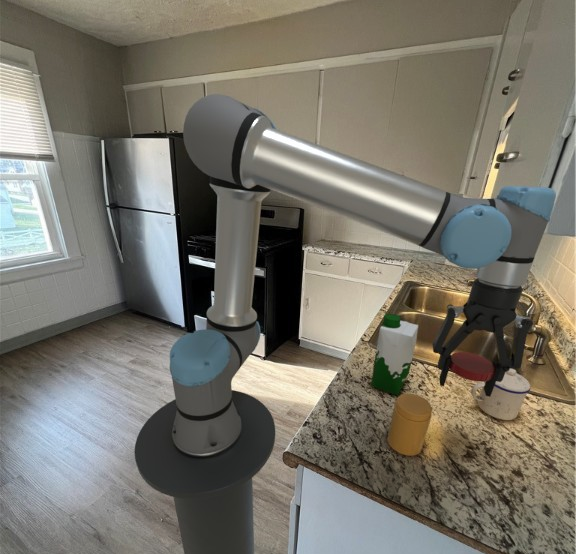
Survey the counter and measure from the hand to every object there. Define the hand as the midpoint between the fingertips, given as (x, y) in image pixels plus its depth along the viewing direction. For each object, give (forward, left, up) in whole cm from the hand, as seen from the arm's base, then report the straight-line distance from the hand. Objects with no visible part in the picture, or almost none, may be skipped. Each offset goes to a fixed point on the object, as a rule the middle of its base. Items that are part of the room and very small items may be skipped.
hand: (463, 387), depth 65 cm
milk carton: (-14, +14, -13) cm, 24 cm away
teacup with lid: (+11, +14, -13) cm, 22 cm away
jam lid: (0, 0, +6) cm, 6 cm away
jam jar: (-9, -6, -13) cm, 17 cm away
